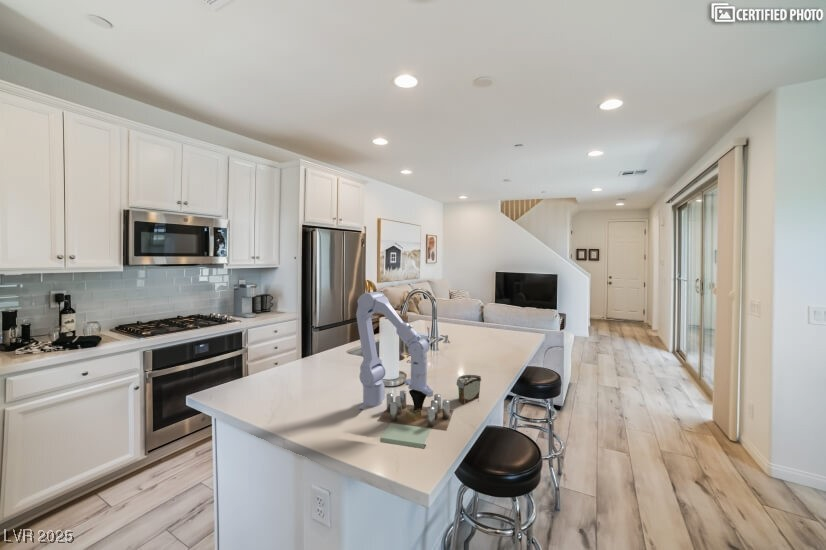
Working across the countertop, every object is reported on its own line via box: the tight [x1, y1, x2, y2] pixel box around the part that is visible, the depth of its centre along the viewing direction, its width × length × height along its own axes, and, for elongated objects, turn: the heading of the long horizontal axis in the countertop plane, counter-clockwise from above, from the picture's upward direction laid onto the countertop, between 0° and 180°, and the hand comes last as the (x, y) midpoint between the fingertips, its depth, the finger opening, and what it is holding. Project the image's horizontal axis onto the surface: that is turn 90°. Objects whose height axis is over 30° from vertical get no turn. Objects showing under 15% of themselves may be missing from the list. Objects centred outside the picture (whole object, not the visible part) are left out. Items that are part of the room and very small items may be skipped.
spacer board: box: [376, 403, 454, 431], centre depth 124 cm, size 16×24×2 cm, turn 75°
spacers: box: [386, 389, 451, 427], centre depth 124 cm, size 13×23×6 cm, turn 75°
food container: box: [456, 374, 482, 405], centre depth 140 cm, size 12×6×10 cm, turn 134°
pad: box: [379, 423, 432, 450], centre depth 112 cm, size 10×14×2 cm
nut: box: [406, 407, 421, 421], centre depth 123 cm, size 6×5×3 cm
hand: (418, 410), depth 127 cm, fingers closed
